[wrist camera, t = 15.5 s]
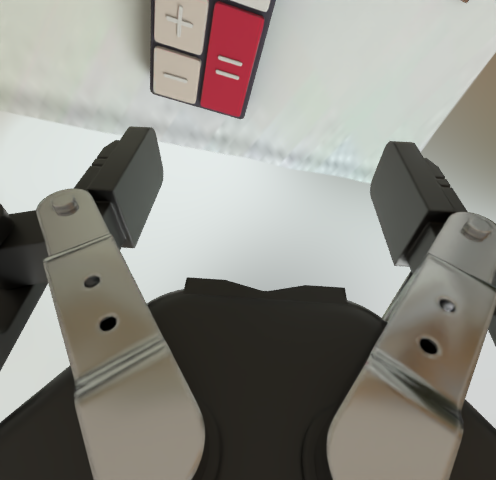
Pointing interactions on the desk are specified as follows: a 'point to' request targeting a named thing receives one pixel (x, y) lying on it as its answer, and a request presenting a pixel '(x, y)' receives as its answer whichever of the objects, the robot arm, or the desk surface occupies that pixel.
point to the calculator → (208, 51)
